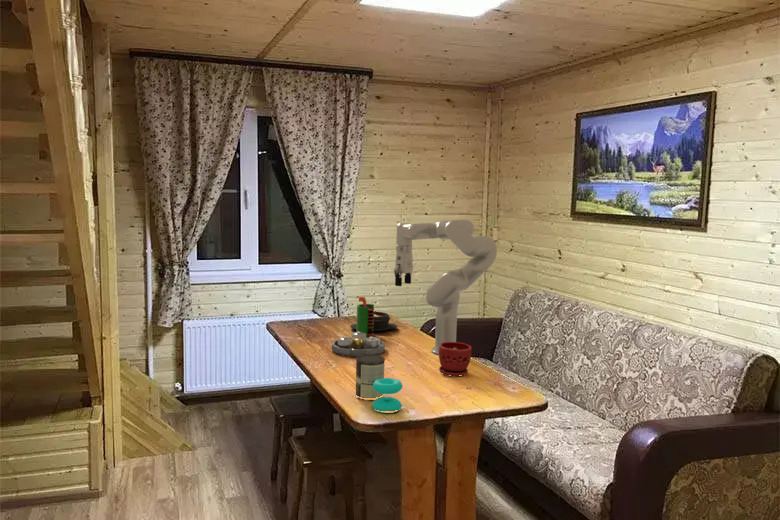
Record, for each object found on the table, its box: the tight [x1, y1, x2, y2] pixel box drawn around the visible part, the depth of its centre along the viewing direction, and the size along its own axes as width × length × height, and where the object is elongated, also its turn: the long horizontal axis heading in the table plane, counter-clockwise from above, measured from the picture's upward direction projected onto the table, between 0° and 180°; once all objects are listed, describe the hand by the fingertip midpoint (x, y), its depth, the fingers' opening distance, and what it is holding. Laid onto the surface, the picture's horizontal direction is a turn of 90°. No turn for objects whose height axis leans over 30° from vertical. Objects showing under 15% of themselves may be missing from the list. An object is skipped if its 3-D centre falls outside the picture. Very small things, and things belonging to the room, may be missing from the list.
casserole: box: [349, 311, 398, 333], centre depth 346 cm, size 25×19×8 cm
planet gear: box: [363, 336, 381, 350], centre depth 300 cm, size 8×8×5 cm
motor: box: [355, 296, 375, 338], centre depth 329 cm, size 10×9×20 cm
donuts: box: [371, 377, 403, 411], centre depth 225 cm, size 10×10×10 cm
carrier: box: [331, 331, 386, 358], centre depth 303 cm, size 24×24×7 cm
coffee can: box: [355, 355, 386, 398], centre depth 238 cm, size 10×10×14 cm
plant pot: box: [438, 341, 472, 377], centre depth 269 cm, size 13×13×12 cm
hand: (403, 284), depth 317 cm, fingers open, 9 cm apart
